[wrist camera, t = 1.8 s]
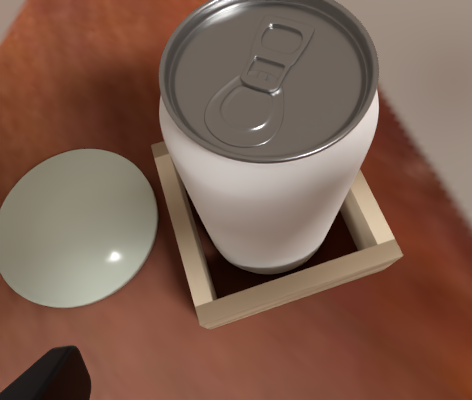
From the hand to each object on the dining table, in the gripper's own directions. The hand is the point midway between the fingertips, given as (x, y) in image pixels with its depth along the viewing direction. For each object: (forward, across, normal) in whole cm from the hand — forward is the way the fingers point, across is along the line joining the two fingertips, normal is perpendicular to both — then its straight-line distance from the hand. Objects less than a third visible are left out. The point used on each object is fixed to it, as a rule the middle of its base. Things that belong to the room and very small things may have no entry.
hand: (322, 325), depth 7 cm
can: (+14, 0, +4) cm, 14 cm away
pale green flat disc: (+14, +10, +3) cm, 18 cm away
